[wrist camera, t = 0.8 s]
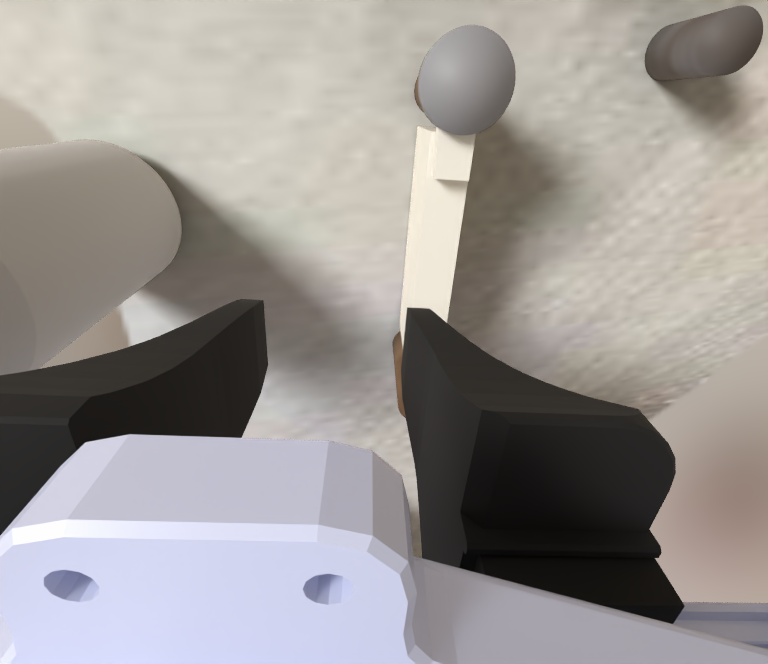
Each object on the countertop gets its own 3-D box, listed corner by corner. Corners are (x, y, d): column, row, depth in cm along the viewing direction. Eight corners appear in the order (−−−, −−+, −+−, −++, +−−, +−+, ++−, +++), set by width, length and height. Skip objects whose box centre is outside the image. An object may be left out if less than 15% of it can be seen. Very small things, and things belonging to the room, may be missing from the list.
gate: (408, 47, 17) (425, 20, 12) (477, 53, 17) (525, 29, 12) (387, 322, 23) (392, 388, 18) (439, 325, 23) (459, 391, 18)
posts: (587, 366, 25) (639, 429, 20) (391, 358, 24) (396, 421, 20) (702, 26, 17) (830, -6, 13) (421, 1, 17) (442, -43, 12)
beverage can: (188, 156, 19) (-39, 216, 9) (187, 287, 22) (18, 453, 11) (35, 123, 18) (-422, 144, 8) (56, 263, 21) (-258, 418, 11)
